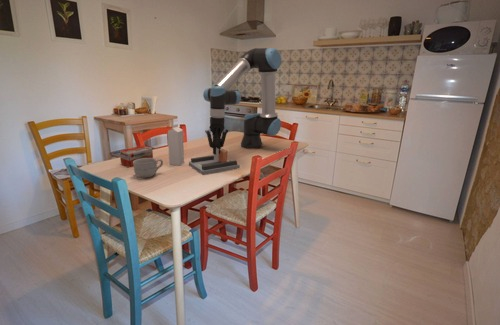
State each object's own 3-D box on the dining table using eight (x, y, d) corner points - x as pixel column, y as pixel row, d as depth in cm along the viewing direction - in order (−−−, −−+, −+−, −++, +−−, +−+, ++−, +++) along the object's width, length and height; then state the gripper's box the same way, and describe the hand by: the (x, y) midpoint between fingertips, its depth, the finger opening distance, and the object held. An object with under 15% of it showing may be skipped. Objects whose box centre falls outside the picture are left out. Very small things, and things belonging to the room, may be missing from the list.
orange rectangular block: (221, 159, 161) (221, 148, 159) (227, 162, 156) (227, 150, 154) (217, 160, 159) (217, 148, 157) (223, 163, 154) (223, 151, 152)
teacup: (134, 180, 132) (133, 164, 129) (133, 173, 141) (132, 157, 139) (165, 177, 137) (164, 161, 135) (162, 170, 147) (161, 155, 144)
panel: (223, 159, 168) (223, 156, 168) (239, 168, 154) (239, 164, 154) (188, 165, 156) (188, 161, 156) (202, 175, 142) (202, 171, 142)
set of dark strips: (223, 157, 166) (223, 153, 166) (237, 164, 154) (237, 161, 153) (191, 161, 156) (191, 158, 155) (203, 170, 143) (203, 166, 142)
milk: (169, 164, 156) (166, 125, 149) (174, 161, 161) (172, 123, 154) (179, 166, 154) (177, 126, 147) (184, 162, 160) (182, 124, 153)
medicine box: (129, 168, 149) (128, 153, 146) (120, 164, 153) (119, 150, 151) (153, 161, 161) (152, 147, 158) (144, 158, 165) (143, 145, 163)
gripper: (224, 115, 155) (223, 156, 161) (203, 116, 148) (202, 159, 154) (231, 117, 149) (229, 160, 156) (209, 118, 142) (208, 163, 149)
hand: (216, 159), depth 155 cm, fingers closed
